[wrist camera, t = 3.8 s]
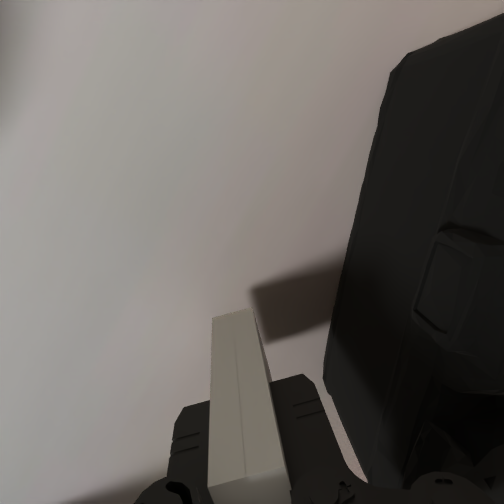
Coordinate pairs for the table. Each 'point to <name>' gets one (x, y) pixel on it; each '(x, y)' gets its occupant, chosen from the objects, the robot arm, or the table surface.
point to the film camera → (428, 274)
